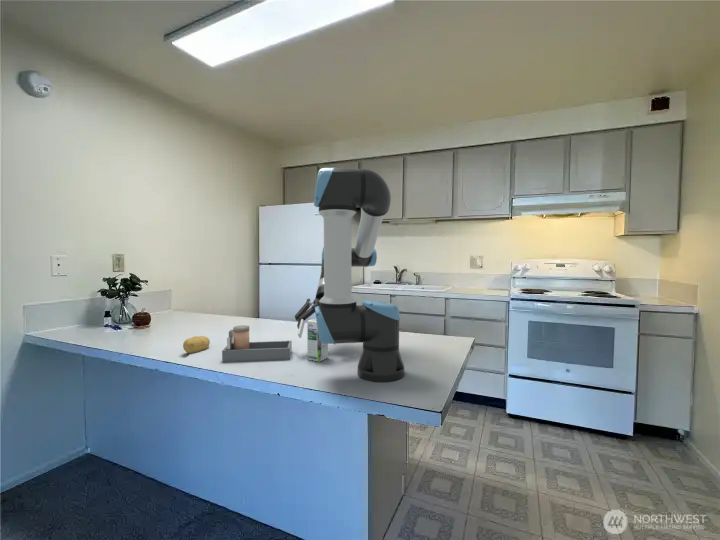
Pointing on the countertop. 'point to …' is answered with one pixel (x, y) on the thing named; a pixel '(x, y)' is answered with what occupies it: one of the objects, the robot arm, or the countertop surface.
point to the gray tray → (259, 352)
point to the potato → (196, 344)
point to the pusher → (230, 340)
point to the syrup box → (315, 343)
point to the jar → (241, 337)
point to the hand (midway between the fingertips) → (317, 336)
